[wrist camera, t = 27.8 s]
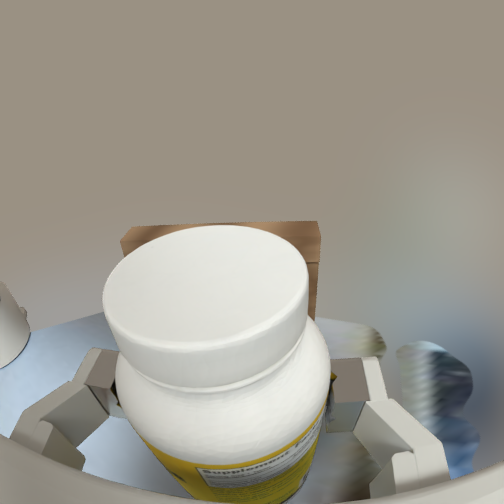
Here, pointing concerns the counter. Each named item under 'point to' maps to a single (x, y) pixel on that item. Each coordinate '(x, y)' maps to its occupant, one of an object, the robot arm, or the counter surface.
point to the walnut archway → (296, 233)
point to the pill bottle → (221, 360)
